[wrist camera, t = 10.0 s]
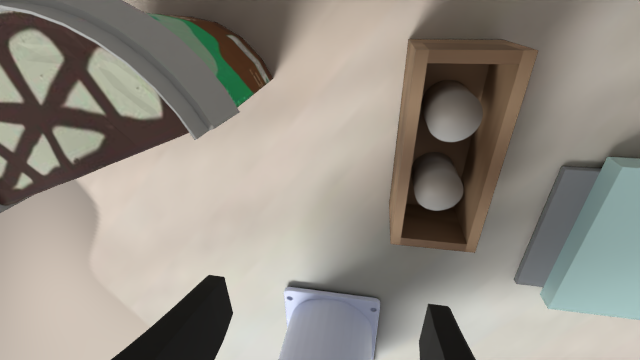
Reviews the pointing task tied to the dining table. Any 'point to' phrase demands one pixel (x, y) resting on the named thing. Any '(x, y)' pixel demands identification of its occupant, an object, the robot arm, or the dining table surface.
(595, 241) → the lid
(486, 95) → the box
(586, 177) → the coaster
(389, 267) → the dining table surface
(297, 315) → the robot arm
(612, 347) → the dining table surface
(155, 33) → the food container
